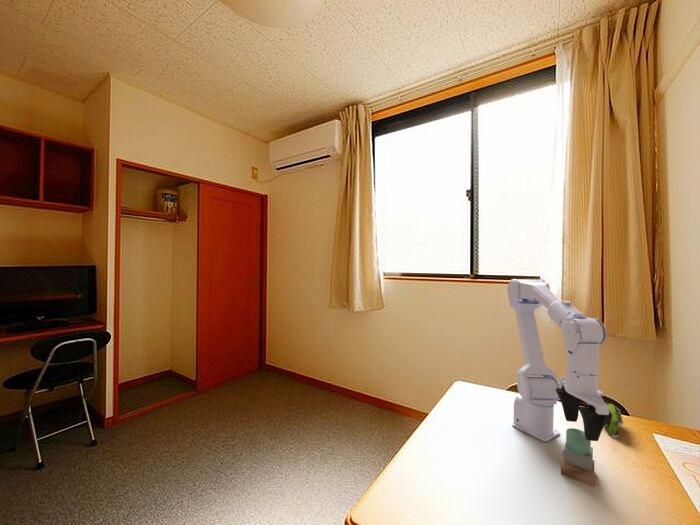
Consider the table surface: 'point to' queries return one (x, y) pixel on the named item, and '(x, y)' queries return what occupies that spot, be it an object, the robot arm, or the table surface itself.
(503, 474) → the table surface
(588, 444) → the green cylinder
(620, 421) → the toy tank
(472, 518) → the table surface
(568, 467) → the walnut block
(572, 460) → the gray block
